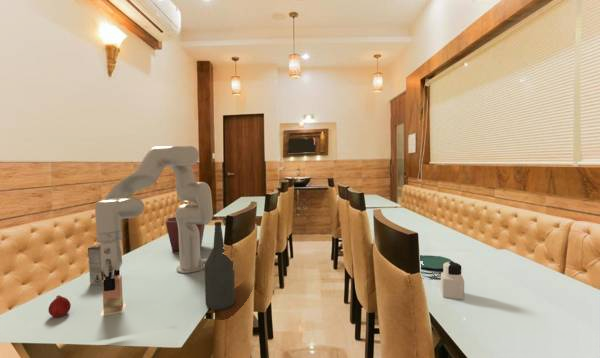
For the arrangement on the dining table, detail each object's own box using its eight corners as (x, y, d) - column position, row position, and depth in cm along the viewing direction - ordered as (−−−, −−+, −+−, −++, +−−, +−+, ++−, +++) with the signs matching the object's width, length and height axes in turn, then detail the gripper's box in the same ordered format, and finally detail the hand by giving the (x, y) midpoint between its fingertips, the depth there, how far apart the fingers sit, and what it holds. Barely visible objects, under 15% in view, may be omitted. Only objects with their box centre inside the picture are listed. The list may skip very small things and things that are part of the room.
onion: (57, 314, 107) (55, 291, 107) (75, 313, 107) (73, 290, 107) (45, 323, 101) (43, 299, 101) (63, 322, 102) (62, 298, 101)
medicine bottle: (461, 292, 119) (461, 261, 118) (464, 300, 112) (464, 267, 111) (440, 290, 121) (440, 259, 120) (442, 297, 114) (442, 265, 114)
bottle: (211, 297, 118) (209, 219, 116) (237, 297, 118) (235, 219, 116) (202, 310, 108) (199, 225, 106) (230, 310, 107) (227, 224, 106)
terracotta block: (122, 291, 111) (121, 274, 110) (120, 296, 106) (119, 279, 106) (105, 293, 109) (105, 276, 108) (103, 299, 104) (102, 281, 104)
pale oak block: (122, 305, 111) (122, 291, 111) (120, 311, 106) (120, 296, 106) (106, 307, 109) (105, 293, 109) (103, 314, 104) (102, 299, 104)
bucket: (196, 254, 174) (194, 210, 173) (157, 255, 175) (155, 211, 173) (209, 243, 199) (208, 204, 197) (175, 244, 199) (173, 205, 198)
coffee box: (106, 276, 143) (104, 242, 142) (118, 277, 141) (116, 242, 140) (89, 284, 134) (87, 247, 133) (102, 285, 132) (100, 248, 131)
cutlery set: (451, 260, 157) (451, 255, 157) (464, 283, 129) (464, 278, 128) (409, 258, 163) (409, 253, 163) (413, 280, 134) (413, 274, 134)
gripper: (118, 240, 100) (120, 292, 101) (125, 230, 116) (127, 275, 116) (90, 243, 97) (93, 297, 98) (102, 232, 113) (104, 278, 114)
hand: (112, 285), depth 107 cm, fingers open, 9 cm apart
